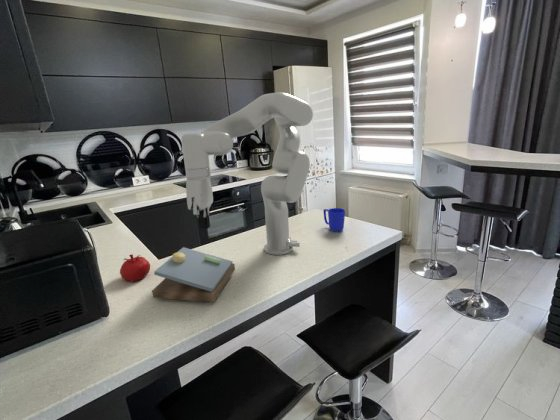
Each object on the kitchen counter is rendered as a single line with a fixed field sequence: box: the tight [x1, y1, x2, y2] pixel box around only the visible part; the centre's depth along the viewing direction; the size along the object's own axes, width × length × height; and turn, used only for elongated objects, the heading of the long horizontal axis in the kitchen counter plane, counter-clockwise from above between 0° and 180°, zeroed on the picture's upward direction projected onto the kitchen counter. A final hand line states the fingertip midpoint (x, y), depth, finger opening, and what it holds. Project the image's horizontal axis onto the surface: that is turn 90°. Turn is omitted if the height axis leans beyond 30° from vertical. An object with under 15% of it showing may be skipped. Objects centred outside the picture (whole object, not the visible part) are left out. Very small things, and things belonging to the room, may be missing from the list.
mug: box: [323, 207, 346, 232], centre depth 144 cm, size 8×12×10 cm
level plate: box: [153, 246, 233, 292], centre depth 96 cm, size 19×18×3 cm
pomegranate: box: [119, 253, 151, 283], centre depth 106 cm, size 10×10×9 cm
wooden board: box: [151, 262, 236, 303], centre depth 98 cm, size 20×20×4 cm
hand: (204, 227), depth 98 cm, fingers closed
